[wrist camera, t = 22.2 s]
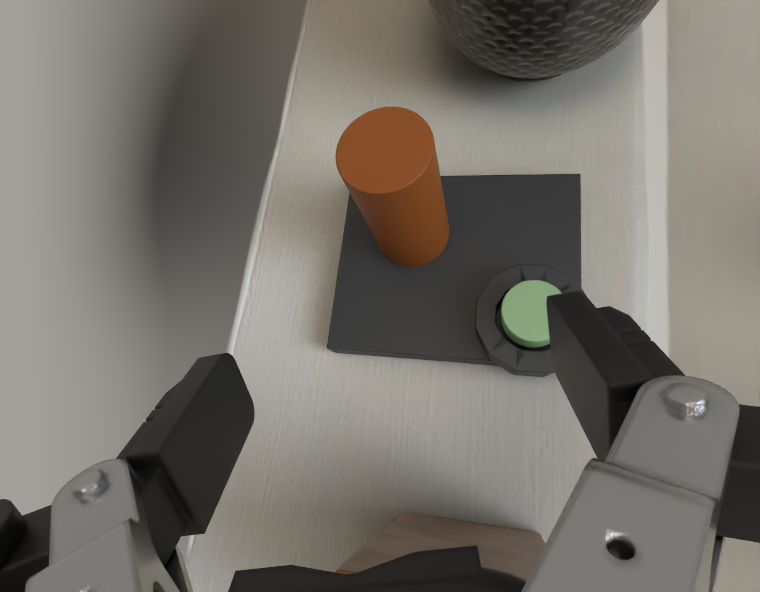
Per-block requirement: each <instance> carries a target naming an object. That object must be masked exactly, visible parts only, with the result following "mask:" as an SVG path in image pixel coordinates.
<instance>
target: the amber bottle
mask: <svg viewBox="0 0 760 592" xmlns="http://www.w3.org/2000/svg"><path fill="white" fill-rule="evenodd" d="M336 165H337V168H338V171H339V173H340V175H341V177H342V179H343V181H344V182H345V184H346V186H347V188H348V190H349V192H350V193H351V195H352V197H353V199H354V201H355V203H356V204H357V206H358V208H359V210H360V212H361V213H362V215H363V217H364V219H365V221H366V223H367V224H368V226H369V228H370V230H371V232H372V234H373V235H374V237H375V239H376V241H377V243H378V245H379V246H380V248H381V250H382V252H383V253H384V255H385V256H386V257H387V258H388V259H389V260H391V261H392V262H394V263H396V264H399V265H402V266H408V267H415V266H420V265H424V264H426V263H429V262H430V261H432V260H434V259H435V258H436V257H437V256H439V255H440V253H441V252H442V251H443V250H444V248H445V246H446V244H447V242H448V239H449V223H448V217H447V212H446V206H445V200H444V195H443V189H442V183H441V177H440V172H439V166H438V160H437V155H436V149H435V143H434V138H433V134H432V131H431V129H430V127H429V125H428V124H427V122H426V121H425V120H424V119H423V118H422V117H421V116H419V115H418V114H417V113H415V112H413V111H411V110H408V109H405V108H400V107H383V108H378V109H375V110H372V111H369V112H367V113H365V114H363V115H361V116H360V117H358V118H357V119H356V120H354V121H353V122H352V123H351V124H350V125H349V126H348V127H347V128H346V130H345V131H344V133H343V134H342V136H341V138H340V140H339V142H338V145H337V149H336Z"/></svg>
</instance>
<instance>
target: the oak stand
mask: <svg viewBox="0 0 760 592" xmlns="http://www.w3.org/2000/svg"><path fill="white" fill-rule="evenodd" d="M545 544H546V543H545V542H544V540H543V538H542V537H541V535H540V534H539V533H535V532H528V531H522V530H516V529H510V528H503V527H497V526H491V525H485V524H478V523H472V522H466V521H460V520H454V519H447V518H441V517H435V516H429V515H422V514H416V513H410V512H404V513H403V514H402V515H400V516H399V517H398V518H397V519H396V520H395V521H393V522H392V523H391V524H390V525H389V526H388V527H386V528H385V529H384V530H383V531H382V532H380V533H379V534H378V535H377V536H376V537H375V538H373V539H372V540H371V541H370V542H369V543H367V544H366V545H365V546H364V547H363V548H362V549H360V550H359V551H358V552H357V553H356V554H354V555H353V556H352V557H351V558H350V559H349V560H347V561H346V562H345V563H344V564H343V565H341V566H340V567H339V568H338V569H337V570H336V573H340V574H354V573H357V572H360V571H363V570H365V569H368V568H371V567H374V566H377V565H379V564H382V563H385V562H388V561H390V560H393V559H396V558H399V557H401V556H404V555H407V554H410V553H413V552H418V551H427V550H437V549H446V548H455V547H465V546H474V545H477V546H478V551H479V556H480V560H481V565H482V567H486V568H492V569H496V570H500V571H503V572H507V573H510V574H513V575H515V576H517V577H520V578H522V579H524V580H528V578H529V576H530V574H531V572H532V570H533V568H534V566H535V564H536V562H537V560H538V558H539V556H540V554H541V552H542V550H543V548H544V546H545Z"/></svg>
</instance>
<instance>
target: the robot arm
mask: <svg viewBox="0 0 760 592" xmlns="http://www.w3.org/2000/svg"><path fill="white" fill-rule="evenodd" d="M546 306H547V317H548V328H549V338H550V349H551V357H552V362H553V366H554V370H555V373H556V375H557V378H558V380H559V382H560V384H561V386H562V388H563V390H564V392H565V394H566V396H567V398H568V400H569V402H570V404H571V406H572V408H573V410H574V412H575V414H576V416H577V418H578V420H579V422H580V424H581V426H582V428H583V430H584V432H585V434H586V436H587V438H588V440H589V442H590V444H591V446H592V448H593V450H594V452H595V454H596V456H597V458H598V459H596V458H593V459H591V460H590V461H589V462H588V463H587V465H586V466H585V468H584V470H583V472H582V474H581V476H580V478H579V480H578V482H577V484H576V486H575V488H574V490H573V492H572V494H571V495H570V497H569V499H568V501H567V503H566V505H565V507H564V509H563V511H562V513H561V515H560V517H559V519H558V521H557V523H556V525H555V527H554V529H553V531H552V533H551V535H550V537H549V539H548V541H547V543H546V544H545V546H544V548H543V550H542V552H541V554H540V556H539V558H538V560H537V562H536V564H535V566H534V568H533V570H532V572H531V574H530V576H529V578H528V580H524V579H522V578H520V577H517V576H515V575H513V574H510V573H507V572H503V571H500V570H496V569H492V568H486V567H482V565H481V560H480V556H479V551H478V546H477V545H474V546H465V547H455V548H446V549H437V550H427V551H418V552H413V553H410V554H407V555H404V556H401V557H399V558H396V559H393V560H390V561H388V562H385V563H382V564H379V565H377V566H374V567H371V568H368V569H365V570H363V571H360V572H357V573H354V574H340V573H334V572H329V571H323V570H317V569H312V568H306V567H300V566H294V565H287V566H277V567H268V568H259V569H249V570H240V571H235V574H234V577H233V580H232V582H231V585H230V588H229V591H228V592H714V591H715V586H716V581H717V576H718V571H719V566H720V561H721V556H722V551H723V546H724V541H725V537H729V538H735V539H741V540H747V541H753V542H759V543H760V407H755V406H746V405H741V404H738V402H737V401H736V399H735V398H734V397H733V395H732V394H731V393H729V392H728V391H727V390H725V389H724V388H722V387H720V386H719V385H717V384H714V383H712V382H710V381H707V380H704V379H700V378H696V377H689V376H685V375H684V374H683V373H682V372H681V371H680V369H679V368H678V367H677V366H676V365H675V364H674V363H673V362H672V361H671V360H670V359H669V358H668V357H667V356H666V354H665V353H664V352H663V351H662V350H661V349H660V348H659V347H658V346H657V345H656V344H655V343H654V342H653V341H651V339H650V337H649V336H648V335H647V334H646V333H645V332H644V331H643V330H642V331H641V328H640V327H639V325H638V324H637V323H636V322H635V321H634V320H633V319H632V318H631V317H630V316H629V315H627V314H625V313H623V312H621V311H619V310H617V309H614V308H612V307H610V306H607V307H602V308H596V307H595V306H594V305H593V304H592V303H591V301H590V300H589V299H588V298H587V296H586V295H585V294H584V293H583V292H582V291H581V290H577V291H572V292H566V293H561V294H555V295H550V296H547V300H546ZM253 422H254V405H253V401H252V398H251V396H250V394H249V391H248V389H247V387H246V384H245V382H244V380H243V377H242V375H241V373H240V370H239V368H238V366H237V363H236V361H235V359H234V358H233V356H232V355H231V354H229V353H224V354H218V355H213V356H207V357H201V358H199V359H197V361H196V362H195V363H194V365H193V366H192V367H191V369H190V370H189V371H188V373H187V374H186V375H185V377H184V378H183V379H182V380H181V381H180V382H179V383H178V384H176V386H174V387H173V388H172V389H170V390H169V391H168V392H167V393H166V394H165V395H164V396H163V398H162V399H161V400H160V401H159V403H158V404H157V405H156V407H155V410H153V411H152V412H151V413H150V415H149V416H148V417H147V419H146V422H144V423H143V424H142V425H141V427H140V428H139V429H138V430H137V432H136V433H135V434H134V436H133V437H132V438H131V440H130V441H129V442H128V444H127V445H126V446H125V447H124V449H123V450H122V451H121V453H120V454H119V455H118V457H117V458H116V459H111V460H106V461H103V462H100V463H97V464H95V465H93V466H91V467H89V468H87V469H86V470H83V471H82V472H80V473H79V474H77V475H76V476H75V477H73V478H72V479H71V480H70V481H69V482H67V484H65V485H64V486H63V487H62V488H61V490H60V491H59V492H58V494H57V495H56V496H55V498H54V500H53V503H52V505H50V506H47V507H44V508H42V509H39V510H36V511H34V512H31V513H29V514H26V515H23V516H22V515H21V514H20V512H19V511H18V510H17V508H16V507H15V506H14V505H13V503H12V502H11V501H9V500H6V499H1V500H0V592H193V589H192V586H191V583H190V579H189V576H188V573H187V569H186V566H185V562H184V559H183V556H182V554H181V552H180V550H179V548H178V547H177V543H178V541H179V539H180V537H181V536H188V535H196V534H204V533H205V531H206V529H207V527H208V524H209V522H210V520H211V518H212V515H213V513H214V511H215V509H216V506H217V504H218V502H219V500H220V497H221V495H222V493H223V490H224V488H225V486H226V484H227V481H228V479H229V477H230V475H231V472H232V470H233V468H234V466H235V463H236V461H237V459H238V457H239V454H240V452H241V450H242V448H243V445H244V443H245V441H246V439H247V436H248V434H249V432H250V430H251V427H252V425H253Z"/></svg>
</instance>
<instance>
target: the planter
mask: <svg viewBox="0 0 760 592" xmlns="http://www.w3.org/2000/svg"><path fill="white" fill-rule="evenodd" d="M658 1H659V0H429V3H430V5H431V8H432V11H433V13H434V15H435V17H436V19H437V21H438V23H439V25H440V26H441V28H442V30H443V31H444V33H445V34H446V36H447V37H448V39H449V40H450V42H451V43H452V44H453V45H454V46H455V47H456V48H457V49H458V50H459V51H460V52H461V53H462V54H463V55H464V56H466V57H467V58H469V59H470V60H471V61H473V62H474V63H476V64H477V65H479V66H481V67H483V68H486V69H488V70H490V71H492V72H495V73H498V74H501V75H503V76H505V77H508V78H512V79H516V80H523V81H535V80H543V79H548V78H552V77H555V76H558V75H561V74H563V73H566V72H569V71H572V70H575V69H578V68H580V67H582V66H584V65H586V64H588V63H590V62H593V61H595V60H597V59H598V58H600V57H602V56H603V55H605V54H606V53H608V52H609V51H611V50H612V49H614V48H615V47H616V46H618V45H619V44H620V43H621V42H622V41H623V40H624V39H625V38H627V37H628V36H629V35H630V34H631V33H632V32H633V31H634V30H635V29H636V28H637V27H638V26H639V25H640V23H641V22H642V21H643V20H644V19H645V17H646V16H647V15H648V14H649V13H650V11H651V10H652V9H653V8H654V6H655V5H656V3H657V2H658Z"/></svg>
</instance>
